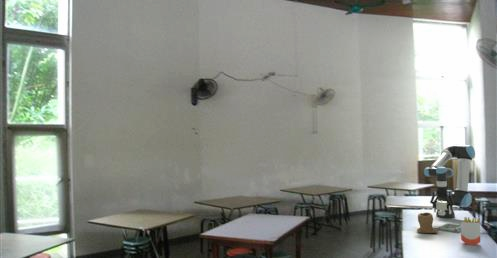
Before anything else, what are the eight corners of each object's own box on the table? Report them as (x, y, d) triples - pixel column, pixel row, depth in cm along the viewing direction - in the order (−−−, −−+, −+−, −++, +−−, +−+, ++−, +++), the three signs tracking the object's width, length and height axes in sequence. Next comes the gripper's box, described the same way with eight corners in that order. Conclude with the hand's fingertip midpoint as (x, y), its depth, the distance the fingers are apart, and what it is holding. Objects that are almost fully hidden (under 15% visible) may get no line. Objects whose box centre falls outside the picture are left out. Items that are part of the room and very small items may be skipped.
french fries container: (461, 242, 281) (460, 216, 281) (479, 243, 277) (478, 216, 277) (462, 244, 276) (461, 217, 277) (480, 245, 273) (479, 218, 273)
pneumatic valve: (449, 216, 332) (449, 201, 332) (433, 215, 338) (433, 200, 337) (450, 214, 337) (449, 200, 337) (434, 213, 342) (434, 199, 342)
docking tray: (444, 226, 331) (444, 222, 331) (466, 228, 320) (466, 225, 320) (436, 229, 319) (436, 226, 319) (459, 232, 308) (458, 229, 308)
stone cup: (417, 234, 306) (417, 213, 306) (416, 230, 317) (415, 211, 317) (440, 235, 301) (439, 214, 301) (437, 231, 312) (437, 211, 313)
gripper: (425, 185, 342) (426, 212, 342) (455, 187, 326) (456, 215, 326) (428, 184, 348) (429, 210, 348) (458, 186, 331) (459, 214, 331)
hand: (442, 213), depth 337 cm, fingers closed on pneumatic valve, 11 cm apart
